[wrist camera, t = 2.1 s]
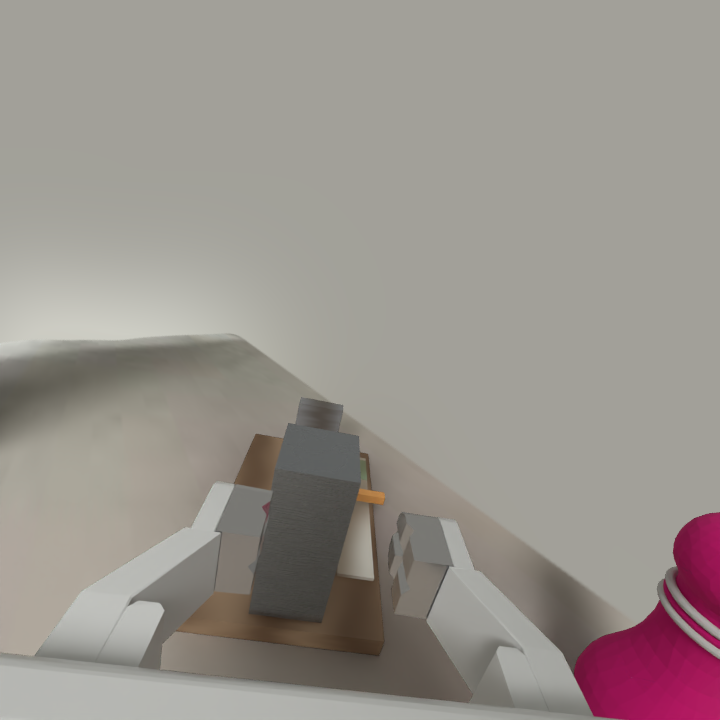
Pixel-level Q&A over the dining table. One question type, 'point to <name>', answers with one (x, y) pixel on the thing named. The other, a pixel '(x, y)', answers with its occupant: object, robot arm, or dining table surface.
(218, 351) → the dining table surface
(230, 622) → the gauge bench
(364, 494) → the wood and grey stick
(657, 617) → the pepper mill
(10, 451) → the dining table surface
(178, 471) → the dining table surface
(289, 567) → the brushed steel block
